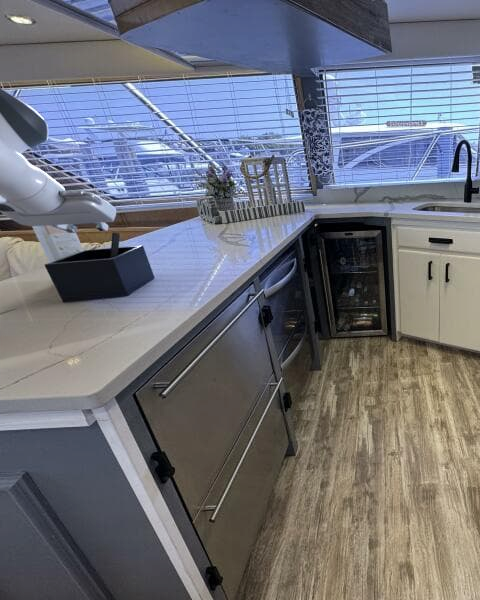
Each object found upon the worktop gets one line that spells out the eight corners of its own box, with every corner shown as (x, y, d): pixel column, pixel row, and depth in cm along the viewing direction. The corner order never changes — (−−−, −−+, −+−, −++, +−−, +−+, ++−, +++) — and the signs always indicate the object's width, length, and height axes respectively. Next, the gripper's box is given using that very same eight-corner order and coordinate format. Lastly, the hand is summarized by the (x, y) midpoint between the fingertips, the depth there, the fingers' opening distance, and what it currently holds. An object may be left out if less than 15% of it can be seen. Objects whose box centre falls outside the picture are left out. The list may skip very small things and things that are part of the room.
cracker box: (99, 282, 95) (67, 209, 87) (72, 289, 90) (36, 213, 82) (83, 275, 102) (52, 207, 94) (57, 281, 97) (22, 210, 89)
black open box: (62, 302, 81) (43, 264, 77) (99, 283, 94) (85, 250, 90) (128, 295, 83) (112, 258, 80) (154, 278, 97) (143, 245, 93)
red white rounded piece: (126, 291, 87) (142, 253, 85) (95, 285, 83) (112, 245, 80) (124, 274, 93) (139, 239, 91) (96, 268, 88) (111, 231, 86)
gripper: (92, 179, 72) (135, 217, 85) (-10, 184, 70) (50, 221, 83) (85, 202, 70) (130, 237, 83) (-20, 207, 68) (43, 242, 81)
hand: (89, 229), depth 83 cm, fingers open, 6 cm apart
